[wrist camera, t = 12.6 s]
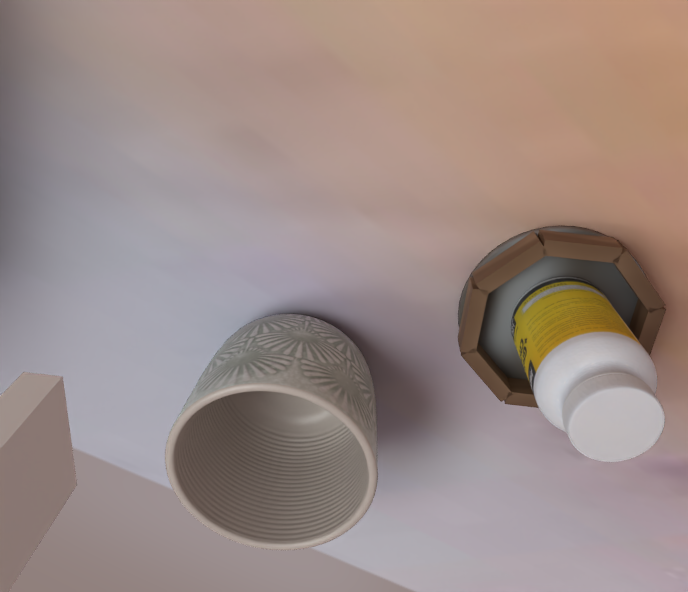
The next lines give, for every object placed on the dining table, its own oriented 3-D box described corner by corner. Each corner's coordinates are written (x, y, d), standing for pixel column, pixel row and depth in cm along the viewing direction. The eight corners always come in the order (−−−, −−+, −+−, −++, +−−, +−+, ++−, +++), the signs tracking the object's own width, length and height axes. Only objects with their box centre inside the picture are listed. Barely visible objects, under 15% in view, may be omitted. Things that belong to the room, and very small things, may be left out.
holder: (444, 378, 45) (447, 399, 43) (475, 215, 40) (480, 229, 37) (617, 398, 45) (629, 420, 42) (672, 236, 39) (689, 251, 37)
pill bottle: (500, 286, 41) (539, 385, 30) (602, 262, 39) (679, 357, 29) (517, 368, 43) (559, 486, 33) (613, 348, 42) (688, 463, 32)
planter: (350, 457, 49) (339, 573, 39) (197, 411, 48) (147, 518, 38) (405, 326, 43) (409, 424, 34) (234, 272, 43) (187, 355, 33)
